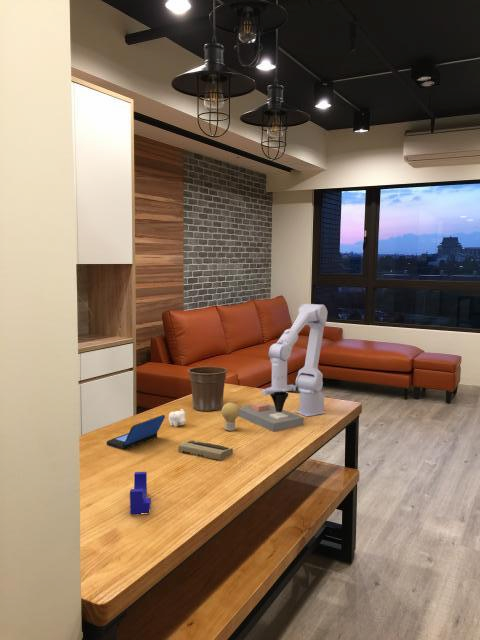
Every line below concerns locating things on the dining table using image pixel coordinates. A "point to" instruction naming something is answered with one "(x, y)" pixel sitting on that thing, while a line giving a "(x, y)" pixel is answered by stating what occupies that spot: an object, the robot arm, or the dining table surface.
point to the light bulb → (230, 415)
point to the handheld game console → (138, 434)
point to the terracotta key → (260, 406)
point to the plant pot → (207, 387)
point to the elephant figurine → (177, 418)
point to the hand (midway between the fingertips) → (278, 411)
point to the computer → (205, 450)
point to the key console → (270, 418)
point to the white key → (278, 415)
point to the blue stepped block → (139, 494)
